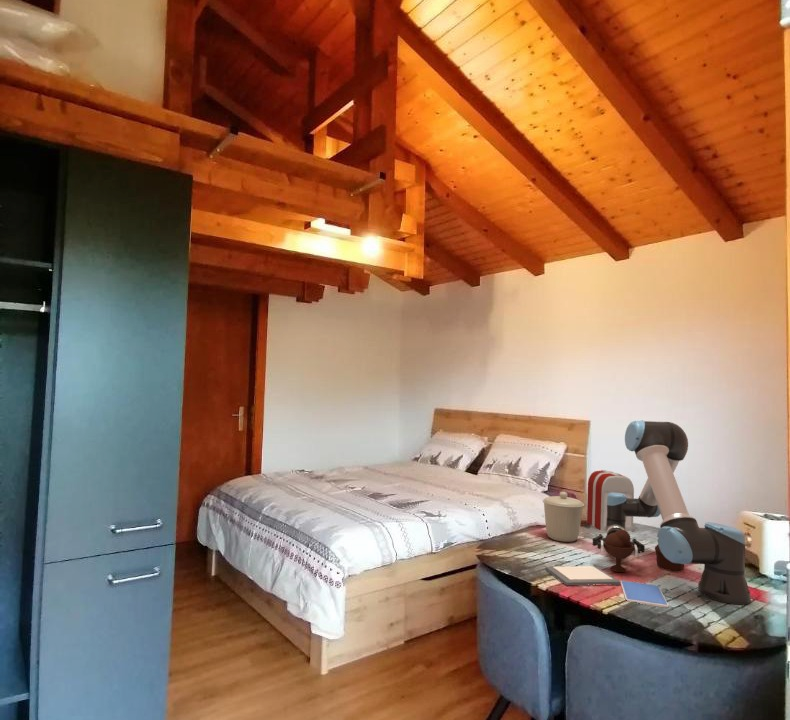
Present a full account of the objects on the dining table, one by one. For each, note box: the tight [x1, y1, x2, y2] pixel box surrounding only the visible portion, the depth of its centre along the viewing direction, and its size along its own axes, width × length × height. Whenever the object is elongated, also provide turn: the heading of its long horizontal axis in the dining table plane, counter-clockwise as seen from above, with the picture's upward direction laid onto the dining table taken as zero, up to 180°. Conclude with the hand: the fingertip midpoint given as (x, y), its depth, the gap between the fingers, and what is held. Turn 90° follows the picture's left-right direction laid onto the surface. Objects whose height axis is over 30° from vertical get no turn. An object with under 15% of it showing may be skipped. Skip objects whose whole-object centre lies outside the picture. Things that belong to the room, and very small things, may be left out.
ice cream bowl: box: [603, 530, 635, 573], centre depth 203 cm, size 11×11×15 cm
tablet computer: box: [619, 580, 670, 608], centre depth 180 cm, size 19×13×1 cm, turn 163°
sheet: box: [552, 565, 613, 581], centre depth 193 cm, size 13×16×1 cm
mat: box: [545, 565, 621, 586], centre depth 193 cm, size 16×20×1 cm
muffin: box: [654, 543, 685, 572], centre depth 209 cm, size 12×11×10 cm
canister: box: [542, 491, 585, 543], centre depth 244 cm, size 18×18×21 cm
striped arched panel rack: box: [586, 469, 635, 532], centre depth 271 cm, size 16×18×27 cm
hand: (619, 550), depth 199 cm, fingers closed on ice cream bowl, 11 cm apart
